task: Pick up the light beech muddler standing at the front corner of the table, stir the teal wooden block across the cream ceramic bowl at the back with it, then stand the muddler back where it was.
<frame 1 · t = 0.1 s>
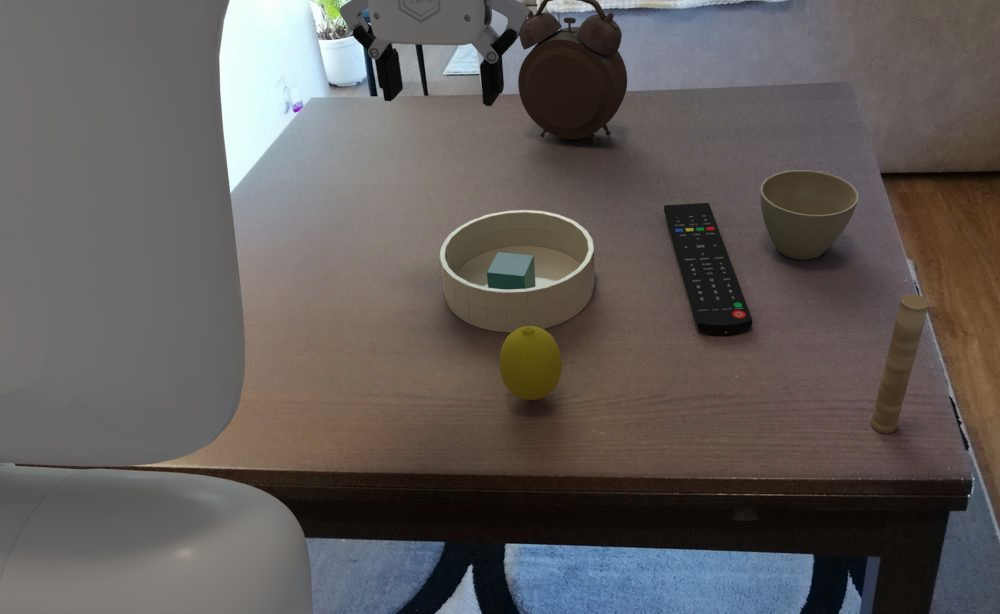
hand: (442, 97, 81), 22 cm above the table, tool pointing down, fingers open, 9 cm apart
alarm clock: (574, 137, 125), on the table
bowl: (519, 287, 95), on the table
muddler: (883, 425, 74), on the table
block: (512, 295, 93), point 1 cm above the table, touching bowl
flower pot: (799, 249, 97), on the table
lemon: (532, 399, 80), on the table
remote control: (703, 270, 95), on the table
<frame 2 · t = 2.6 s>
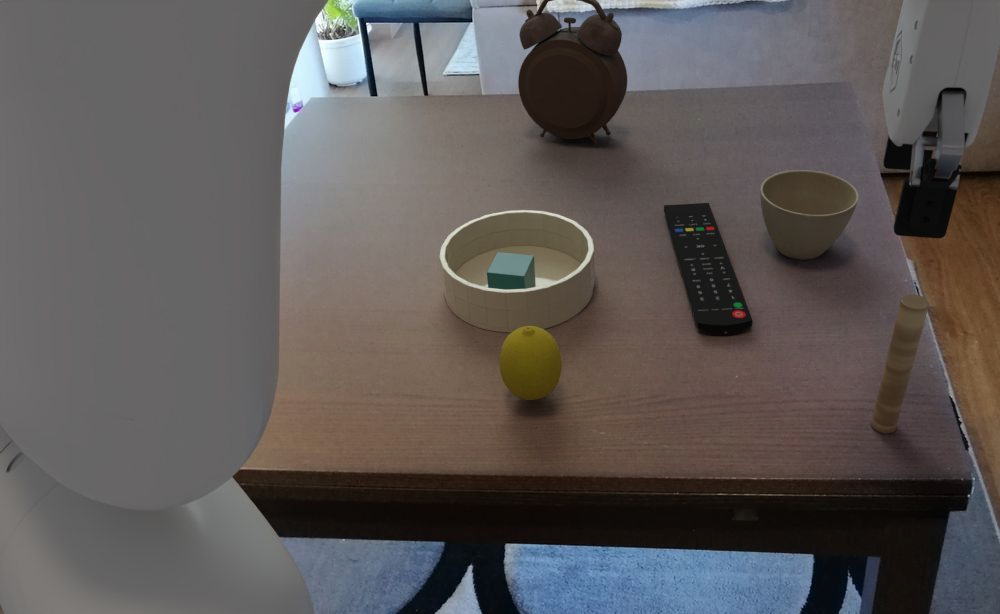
hand: (911, 199, 63), 21 cm above the table, tool pointing down, fingers open, 9 cm apart
nothing on the table moved.
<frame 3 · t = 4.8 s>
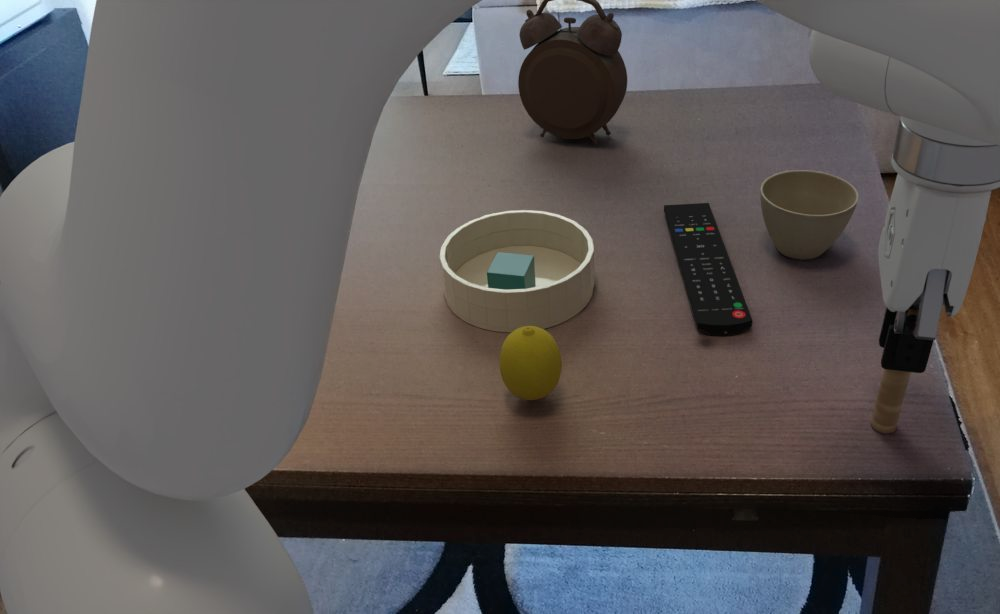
hand: (900, 356, 70), 8 cm above the table, tool pointing down, fingers closed on muddler, 2 cm apart
muddler: (883, 425, 74), on the table, touching gripper
everything else where it was.
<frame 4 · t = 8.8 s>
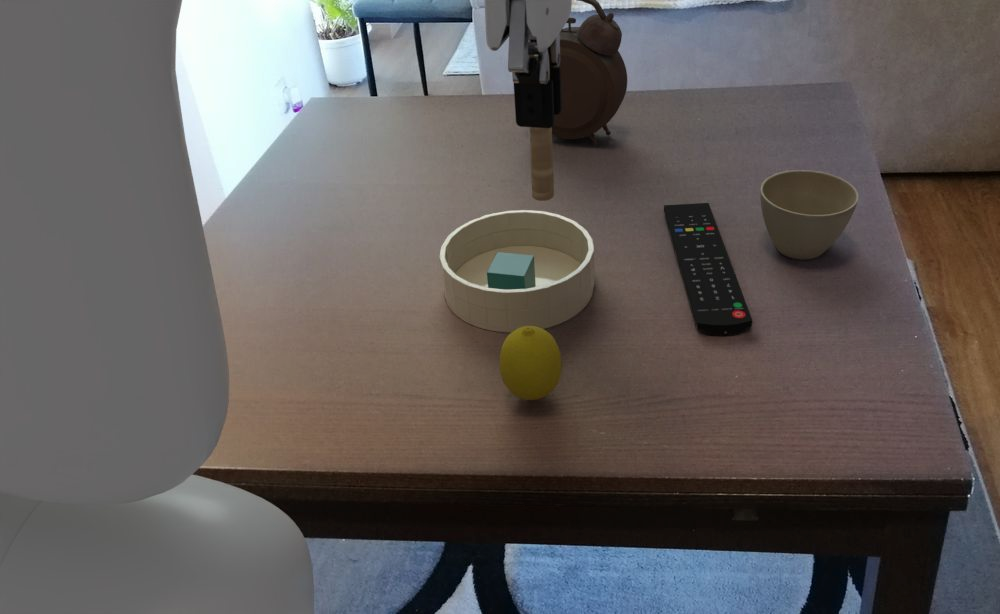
hand: (539, 117, 74), 23 cm above the table, tool pointing down, fingers closed on muddler
muddler: (543, 195, 79), point 16 cm above the table, touching gripper
everything else where it was.
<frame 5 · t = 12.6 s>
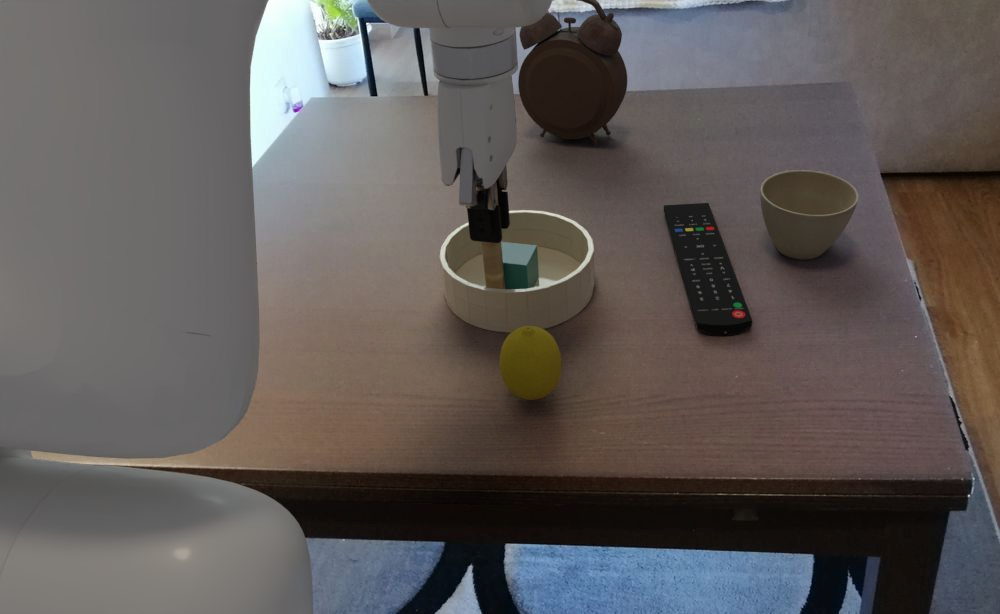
hand: (490, 232, 87), 9 cm above the table, tool pointing down, fingers closed on muddler, 2 cm apart
muddler: (496, 294, 92), point 1 cm above the table, touching gripper
block: (516, 284, 94), point 1 cm above the table, touching bowl
everything else where it was.
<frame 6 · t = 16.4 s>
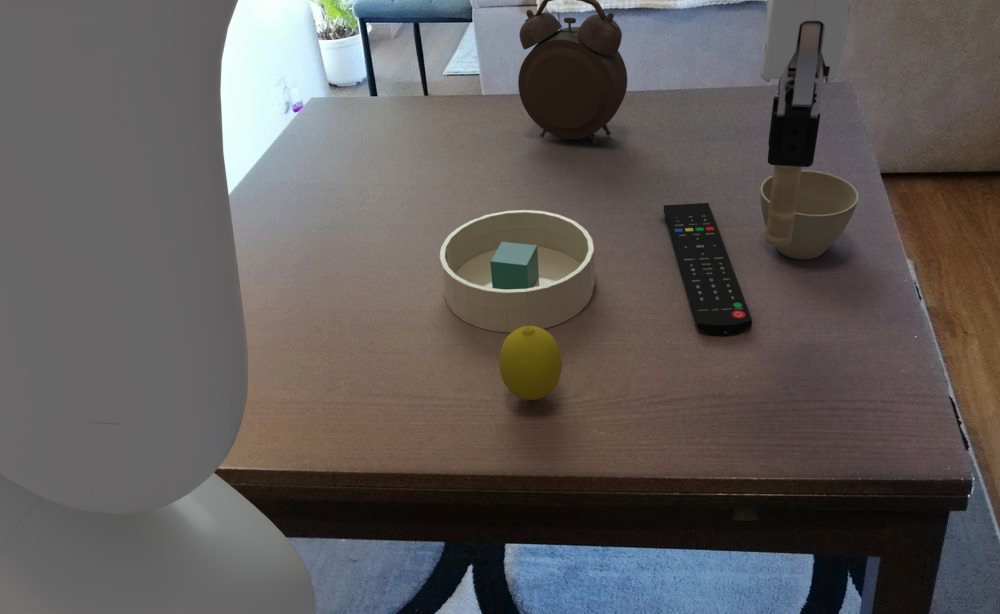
hand: (789, 154, 66), 23 cm above the table, tool pointing down, fingers closed on muddler
muddler: (778, 240, 70), point 16 cm above the table, touching gripper
everything else where it was.
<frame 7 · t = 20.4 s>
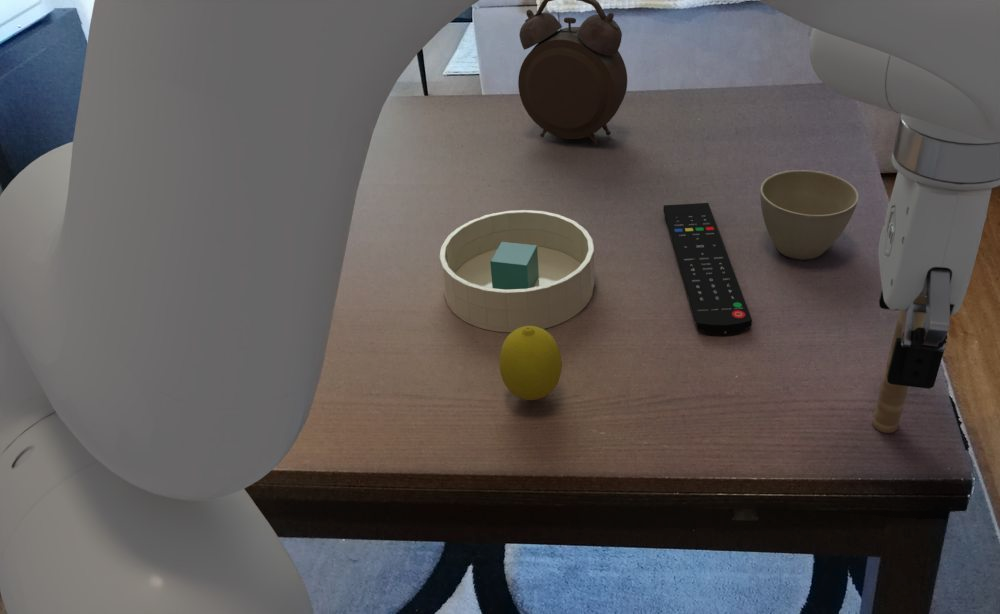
hand: (903, 344, 69), 9 cm above the table, tool pointing down, fingers open, 9 cm apart
muddler: (884, 425, 74), on the table
everything else where it was.
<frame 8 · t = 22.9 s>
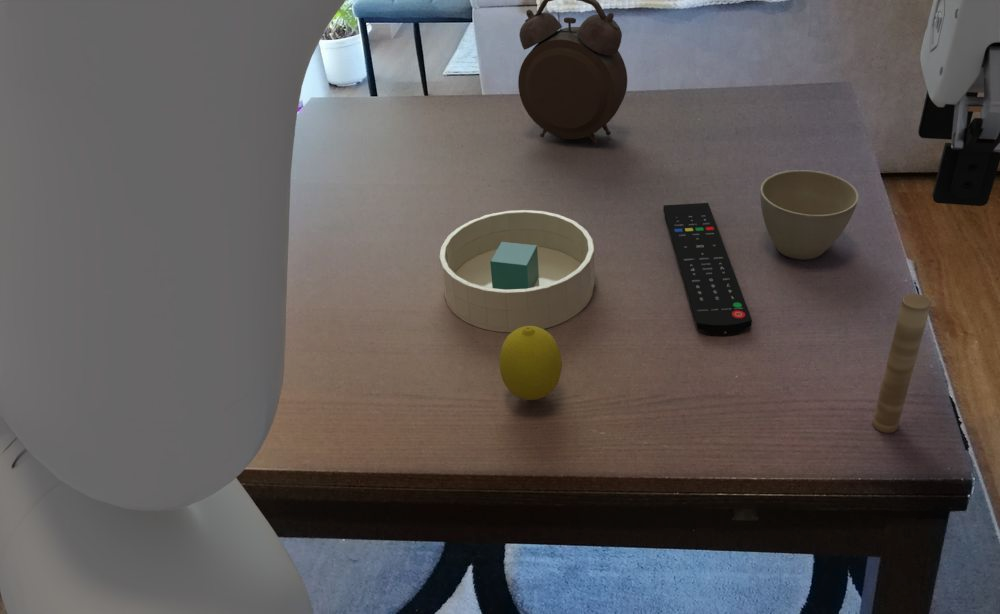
hand: (949, 167, 60), 24 cm above the table, tool pointing down, fingers open, 9 cm apart
nothing on the table moved.
at the end: block moved 2.0 cm from its start; block inside the target area in the bowl (0.4 cm from its centre), point 0.6 cm above the bowl's base; the gripper is holding nothing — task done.
